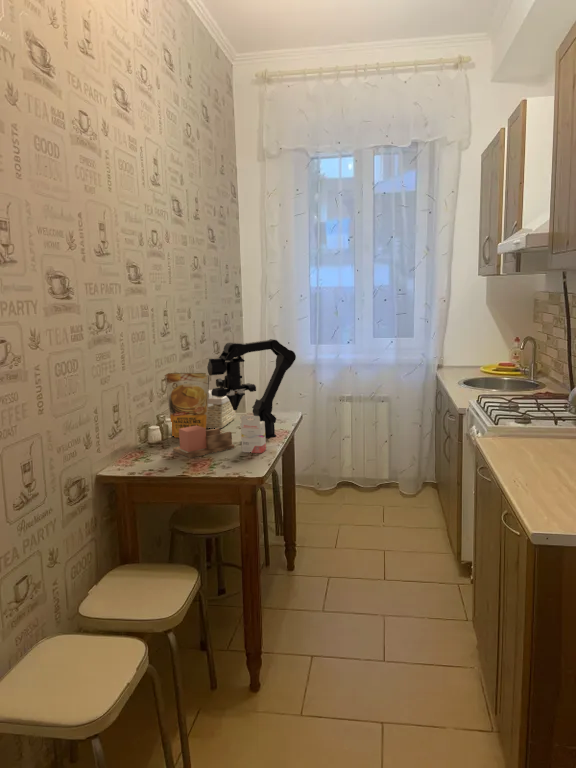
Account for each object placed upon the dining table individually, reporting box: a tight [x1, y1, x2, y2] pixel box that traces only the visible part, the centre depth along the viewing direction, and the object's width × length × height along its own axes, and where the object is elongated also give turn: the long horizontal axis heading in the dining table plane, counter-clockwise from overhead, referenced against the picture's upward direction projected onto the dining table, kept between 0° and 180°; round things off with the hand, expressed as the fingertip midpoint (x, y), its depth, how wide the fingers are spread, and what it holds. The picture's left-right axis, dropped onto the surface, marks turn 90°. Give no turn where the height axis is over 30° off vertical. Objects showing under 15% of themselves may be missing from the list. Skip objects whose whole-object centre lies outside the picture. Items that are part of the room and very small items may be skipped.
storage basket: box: [206, 389, 237, 429], centre depth 281 cm, size 24×16×15 cm
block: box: [178, 425, 207, 452], centre depth 234 cm, size 8×7×8 cm
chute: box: [172, 428, 235, 459], centre depth 237 cm, size 20×14×6 cm
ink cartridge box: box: [240, 414, 267, 454], centre depth 231 cm, size 9×5×15 cm, turn 70°
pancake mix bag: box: [164, 372, 210, 439], centre depth 257 cm, size 7×19×28 cm, turn 81°
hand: (235, 410), depth 247 cm, fingers closed
